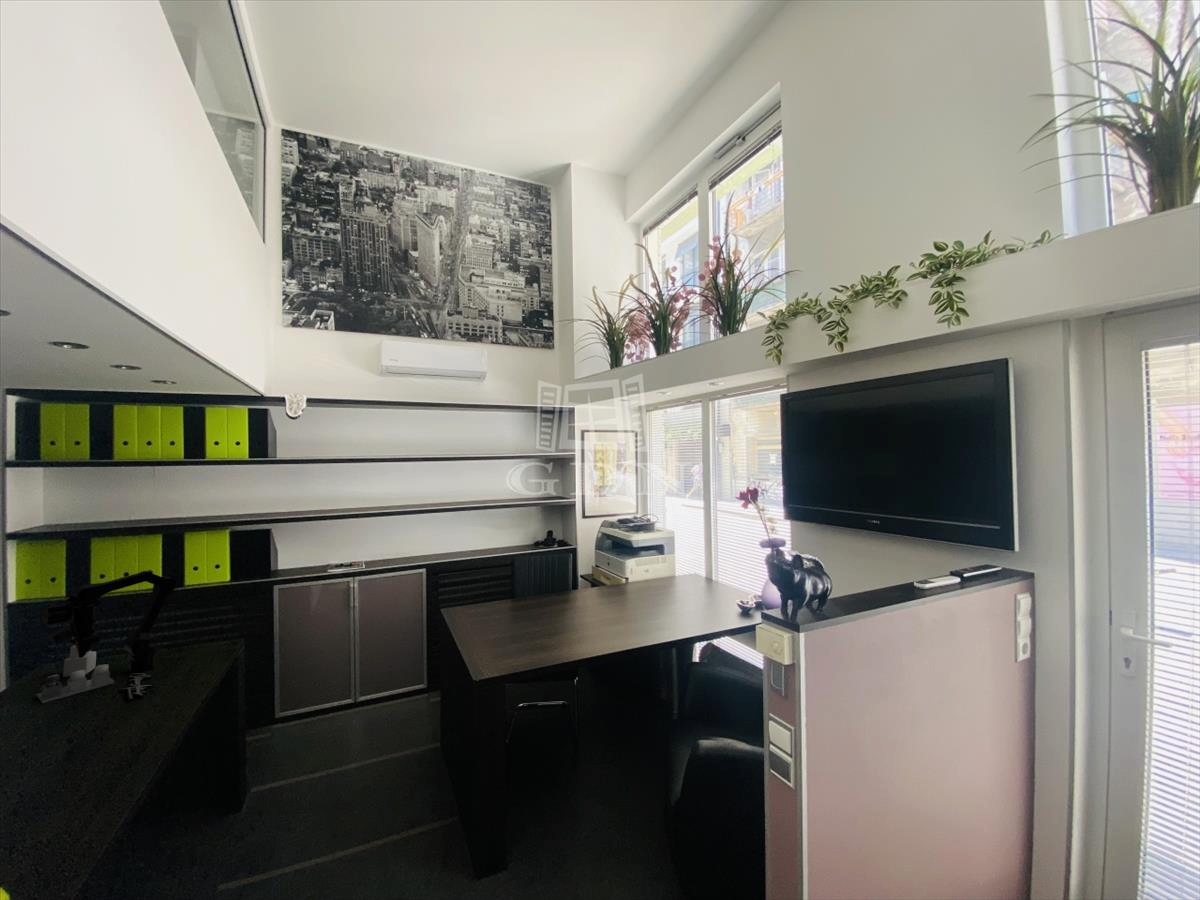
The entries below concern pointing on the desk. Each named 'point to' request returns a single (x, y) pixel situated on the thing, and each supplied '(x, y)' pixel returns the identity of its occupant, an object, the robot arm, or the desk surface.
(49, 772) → the desk surface
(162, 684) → the desk surface
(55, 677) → the pot knob
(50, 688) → the mount strip
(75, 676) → the knob
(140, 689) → the nameplate
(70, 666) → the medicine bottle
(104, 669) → the knob
